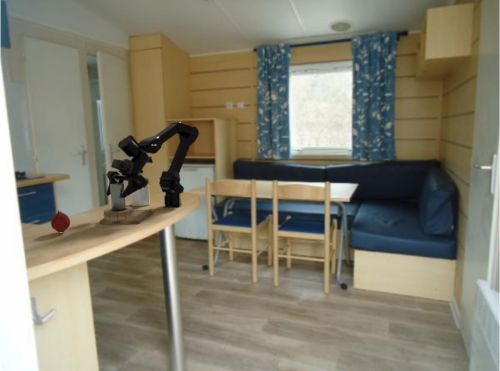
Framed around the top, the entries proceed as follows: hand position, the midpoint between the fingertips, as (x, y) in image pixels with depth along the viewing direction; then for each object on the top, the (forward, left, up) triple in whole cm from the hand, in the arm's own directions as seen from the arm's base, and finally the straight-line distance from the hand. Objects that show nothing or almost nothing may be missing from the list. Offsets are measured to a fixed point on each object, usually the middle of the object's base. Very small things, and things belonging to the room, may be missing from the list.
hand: (114, 196), depth 135 cm
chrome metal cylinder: (-1, -1, -8) cm, 9 cm away
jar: (-1, -29, -10) cm, 31 cm away
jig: (-3, -5, -10) cm, 11 cm away
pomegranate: (+13, +15, -10) cm, 22 cm away
